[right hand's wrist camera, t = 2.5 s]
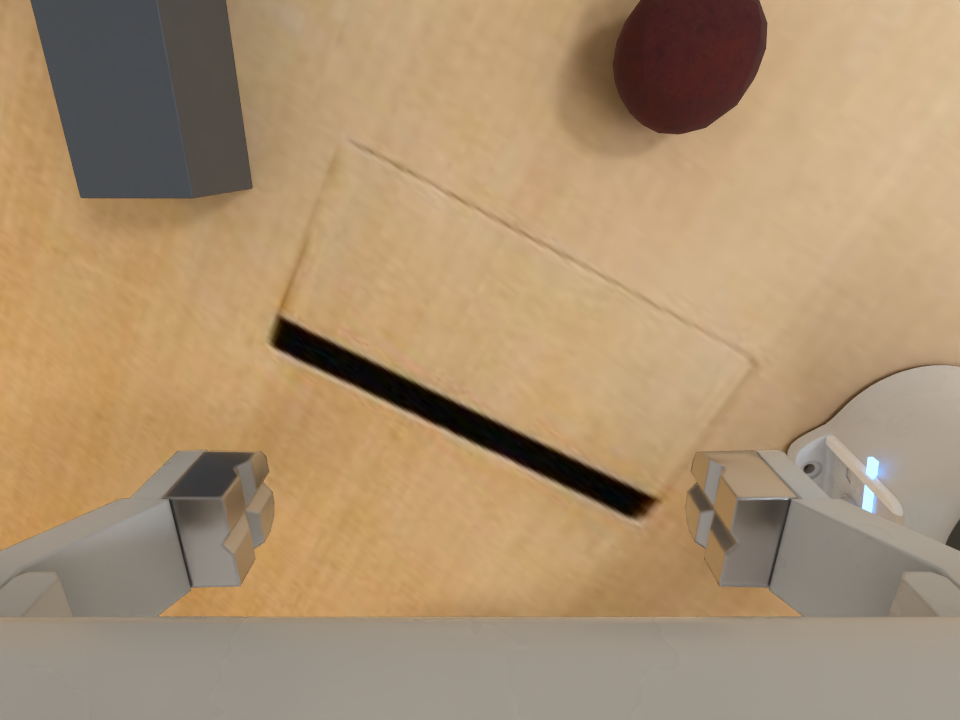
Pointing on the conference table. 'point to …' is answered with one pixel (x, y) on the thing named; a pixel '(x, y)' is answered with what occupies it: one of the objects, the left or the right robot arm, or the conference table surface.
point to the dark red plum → (688, 60)
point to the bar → (146, 96)
